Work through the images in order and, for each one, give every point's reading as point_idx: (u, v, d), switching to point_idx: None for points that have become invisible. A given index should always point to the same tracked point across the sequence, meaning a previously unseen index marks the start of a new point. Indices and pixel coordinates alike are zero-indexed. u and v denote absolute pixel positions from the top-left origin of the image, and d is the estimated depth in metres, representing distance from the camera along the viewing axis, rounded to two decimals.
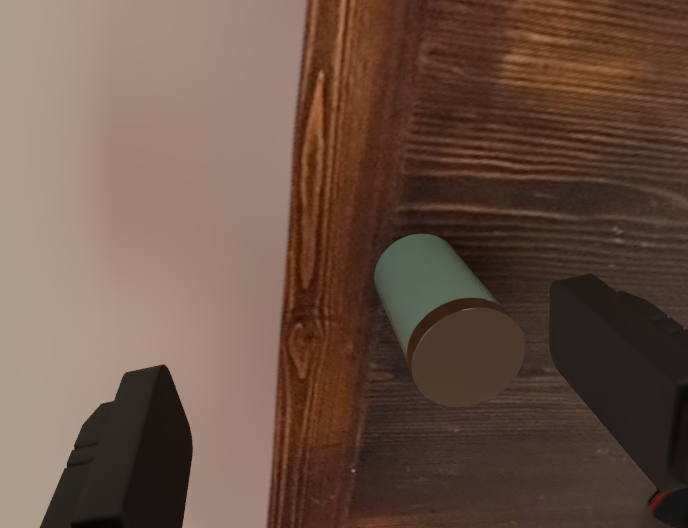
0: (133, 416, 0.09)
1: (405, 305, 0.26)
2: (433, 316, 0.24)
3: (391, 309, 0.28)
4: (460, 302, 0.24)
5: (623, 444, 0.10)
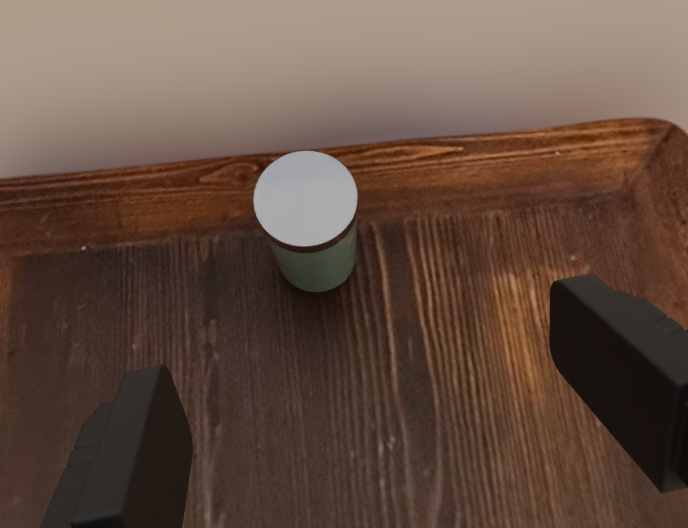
0: (133, 416, 0.09)
1: None
2: None
3: None
4: None
5: (624, 444, 0.10)
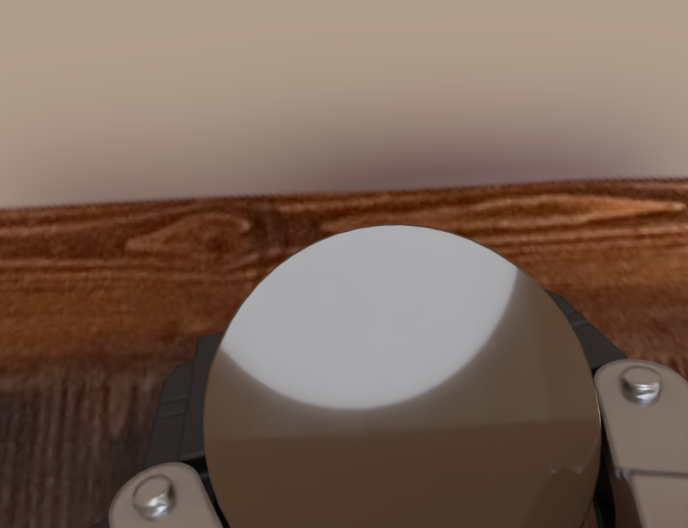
0: None
1: None
2: None
3: None
4: None
5: None
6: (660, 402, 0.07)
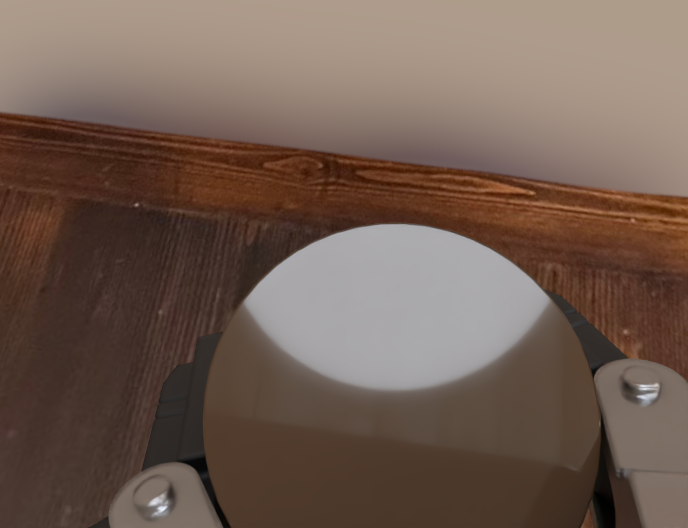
0: None
1: None
2: None
3: None
4: None
5: None
6: (660, 402, 0.07)
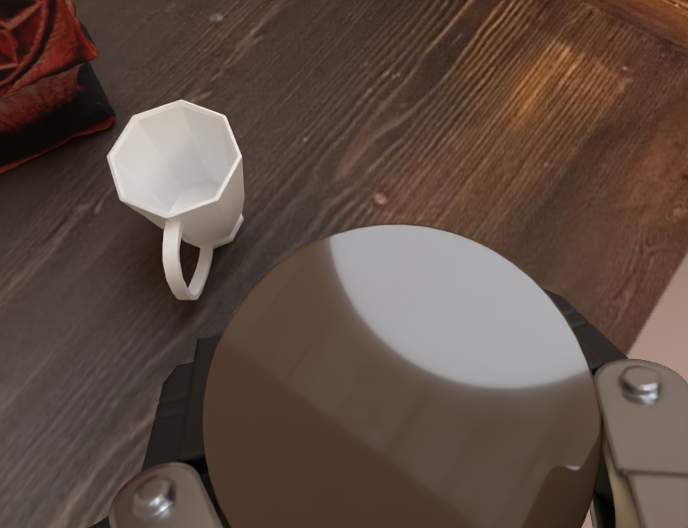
0: None
1: None
2: None
3: None
4: None
5: None
6: (660, 402, 0.07)
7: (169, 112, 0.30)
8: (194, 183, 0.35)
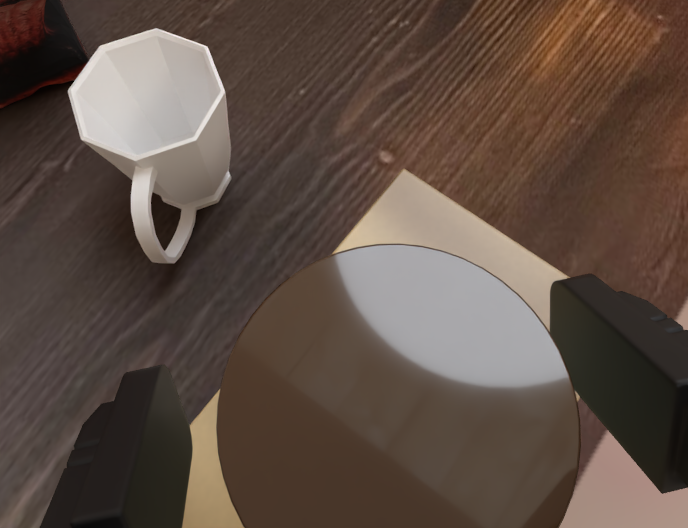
0: (133, 416, 0.09)
1: None
2: None
3: None
4: None
5: (624, 444, 0.10)
6: None
7: (142, 43, 0.25)
8: (175, 136, 0.31)
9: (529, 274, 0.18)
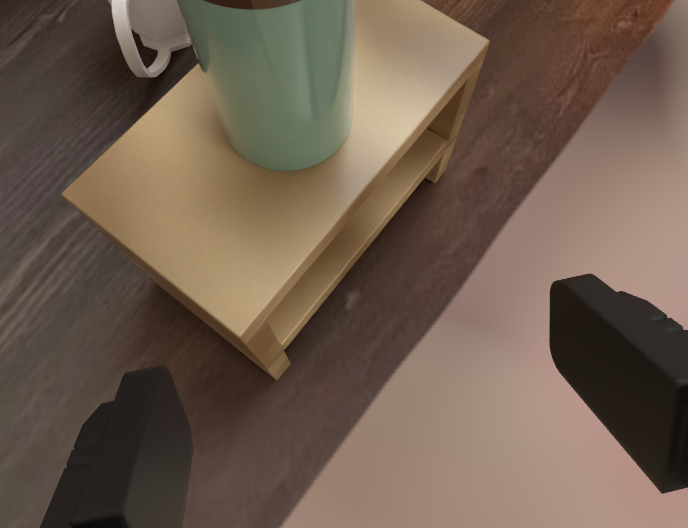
0: (133, 416, 0.09)
1: None
2: None
3: None
4: None
5: (624, 444, 0.10)
6: None
7: None
8: None
9: (415, 13, 0.23)
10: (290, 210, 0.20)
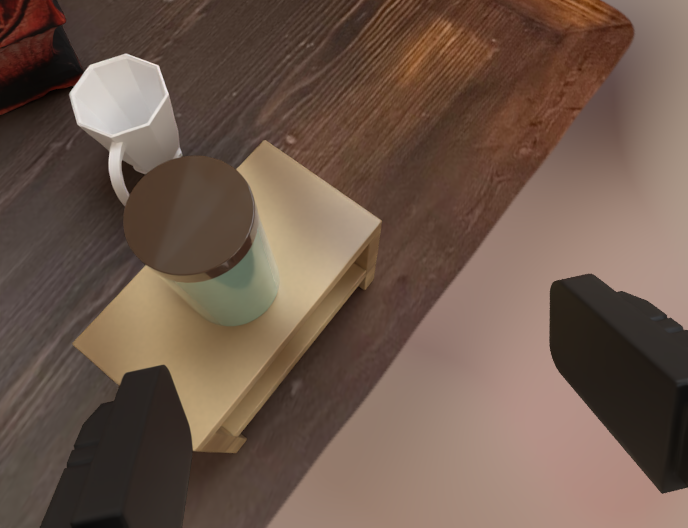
0: (133, 416, 0.09)
1: None
2: None
3: None
4: (254, 201, 0.23)
5: (624, 444, 0.10)
6: None
7: (117, 63, 0.39)
8: (143, 125, 0.45)
9: (329, 198, 0.32)
10: (232, 356, 0.29)
